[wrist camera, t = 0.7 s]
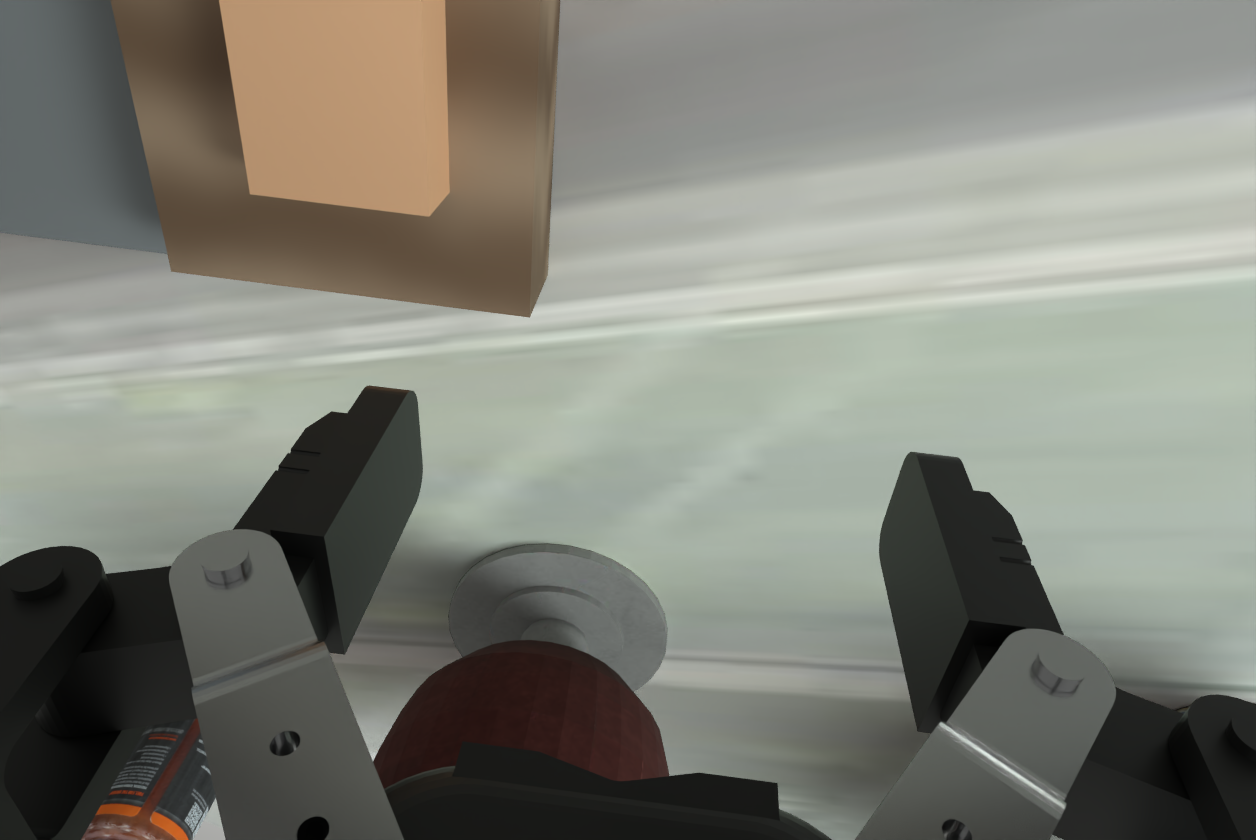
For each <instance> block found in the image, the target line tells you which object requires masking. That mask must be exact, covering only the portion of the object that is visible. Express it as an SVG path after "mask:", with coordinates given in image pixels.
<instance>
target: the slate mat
mask: <svg viewBox="0 0 1256 840" xmlns="http://www.w3.org/2000/svg"><path fill="white" fill-rule="evenodd" d="M0 233H8V234H16V235H24V236H31V237H39V238H47V239H55V240H63V241H71V242H79V243H86V244H94V245H102V246H110V247H118V248H126V249H133V250H141V251H149V252H157V253H165V254H167V250H166V245H165V241H164V236H163V232H162V227H161V223H160V218H159V214H158V209H157V205H156V201H155V196H154V192H153V187H152V183H151V178H150V174H149V169H148V165H147V161H146V156H145V152H144V147H143V143H142V138H141V134H140V129H139V125H138V120H137V116H136V112H135V107H134V103H133V98H132V94H131V89H130V85H129V80H128V76H127V72H126V67H125V63H124V58H123V54H122V49H121V45H120V40H119V36H118V31H117V27H116V23H115V18H114V14H113V9H112V5H111V0H0Z"/></svg>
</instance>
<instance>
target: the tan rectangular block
mask: <svg viewBox="0 0 1256 840" xmlns="http://www.w3.org/2000/svg"><path fill="white" fill-rule="evenodd" d="M219 3H220V10H221V16H222V22H223V29H224V35H225V41H226V47H227V54H228V60H229V66H230V72H231V79H232V85H233V91H234V97H235V104H236V110H237V116H238V123H239V129H240V135H241V141H242V148H243V154H244V160H245V166H246V173H247V179H248V185H249V192H250V194H252V195H260V196H268V197H276V198H284V199H292V200H300V201H308V202H316V203H324V204H332V205H340V206H348V207H356V208H364V209H372V210H380V211H388V212H396V213H404V214H412V215H420V216H428V217H429V216H430V215H431V214H432V213H433V212H434V210H435V209H436V208H437V207H438V206H439V205H440V203H441V202H442V201H443V200H444V199H445V197H446V196H447V195H448V194H449V193H450V186H449V143H448V101H447V58H446V16H445V0H219Z"/></svg>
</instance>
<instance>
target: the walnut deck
mask: <svg viewBox="0 0 1256 840" xmlns="http://www.w3.org/2000/svg"><path fill="white" fill-rule="evenodd" d="M111 5H112V9H113V14H114V18H115V23H116V27H117V31H118V36H119V40H120V45H121V49H122V54H123V58H124V63H125V67H126V72H127V76H128V80H129V85H130V89H131V94H132V98H133V103H134V107H135V112H136V116H137V120H138V125H139V129H140V134H141V138H142V143H143V147H144V152H145V156H146V161H147V165H148V169H149V174H150V178H151V183H152V187H153V192H154V196H155V201H156V205H157V209H158V214H159V218H160V223H161V227H162V232H163V236H164V241H165V245H166V250H167V254H168V258H169V263H170V267H171V271H172V272H179V273H187V274H195V275H203V276H211V277H218V278H226V279H234V280H242V281H250V282H257V283H265V284H273V285H281V286H289V287H297V288H304V289H312V290H320V291H328V292H336V293H343V294H351V295H359V296H367V297H375V298H383V299H390V300H398V301H406V302H414V303H422V304H429V305H437V306H445V307H453V308H461V309H468V310H476V311H484V312H492V313H500V314H508V315H515V316H523V317H530V316H531V313H532V311H533V308H534V306H535V304H536V301H537V299H538V297H539V294H540V292H541V290H542V287H543V285H544V283H545V280H546V278H547V276H548V255H549V233H550V211H551V189H552V167H553V145H554V123H555V101H556V79H557V57H558V35H559V13H560V0H445V16H446V58H447V101H448V143H449V186H450V193H449V194H448V195H447V196H446V197H445V199H444V200H443V201H442V202H441V203H440V205H439V206H438V207H437V208H436V209H435V210H434V212H433V213H432V214H431V215H430V216H429V217H428V216H420V215H412V214H404V213H396V212H388V211H380V210H372V209H364V208H356V207H348V206H340V205H332V204H324V203H316V202H308V201H300V200H292V199H284V198H276V197H268V196H260V195H252V194H250V192H249V185H248V179H247V173H246V166H245V160H244V154H243V148H242V141H241V135H240V129H239V123H238V116H237V110H236V104H235V97H234V91H233V85H232V79H231V72H230V66H229V60H228V54H227V47H226V41H225V35H224V29H223V22H222V16H221V10H220V3H219V0H111Z"/></svg>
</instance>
